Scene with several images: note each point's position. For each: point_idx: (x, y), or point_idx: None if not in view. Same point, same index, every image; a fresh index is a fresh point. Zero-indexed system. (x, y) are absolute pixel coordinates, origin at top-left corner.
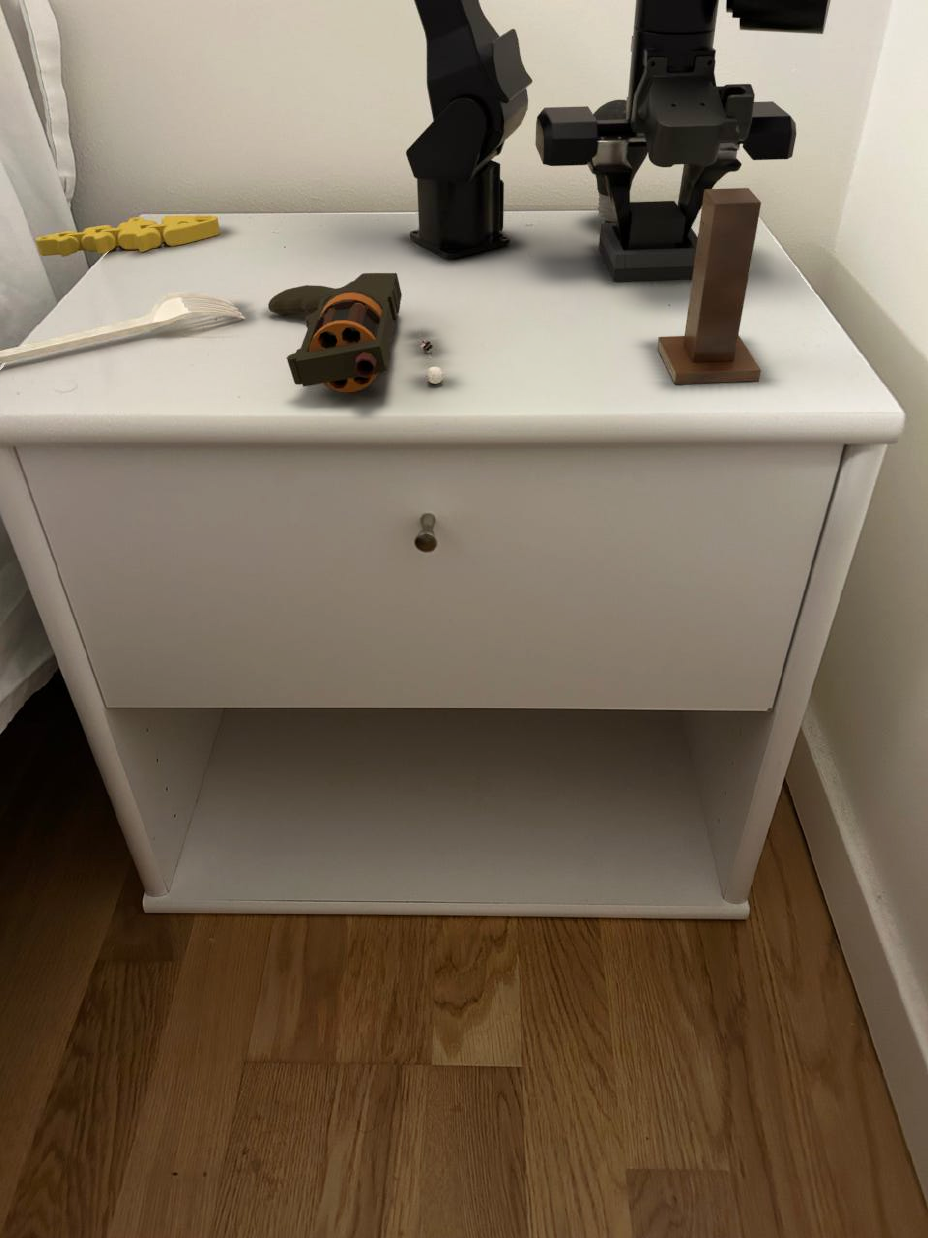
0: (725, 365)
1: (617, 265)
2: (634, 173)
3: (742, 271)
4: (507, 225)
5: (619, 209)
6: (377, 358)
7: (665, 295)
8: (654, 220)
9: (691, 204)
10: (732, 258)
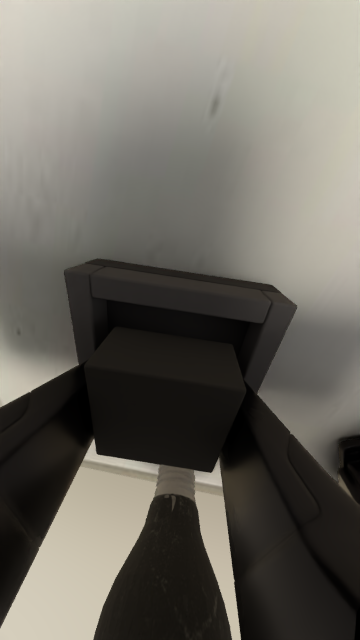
0: None
1: (279, 294)
2: (144, 538)
3: None
4: None
5: (288, 437)
6: None
7: (198, 184)
8: (183, 374)
9: (47, 408)
10: None
